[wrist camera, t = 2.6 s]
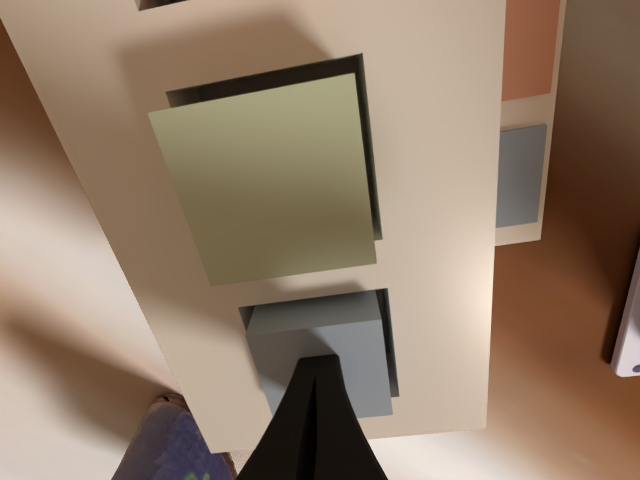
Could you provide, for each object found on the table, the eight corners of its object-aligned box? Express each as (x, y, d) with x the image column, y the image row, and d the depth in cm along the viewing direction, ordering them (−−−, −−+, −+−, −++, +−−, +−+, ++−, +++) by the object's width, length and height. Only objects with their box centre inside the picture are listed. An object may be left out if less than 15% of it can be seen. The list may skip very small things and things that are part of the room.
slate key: (371, 272, 13) (381, 319, 11) (382, 358, 15) (393, 414, 13) (260, 287, 14) (245, 336, 11) (284, 369, 16) (275, 426, 13)
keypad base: (458, -478, 7) (546, -853, 4) (459, 369, 17) (486, 428, 14) (-53, -307, 8) (-257, -511, 5) (229, 394, 18) (211, 453, 16)
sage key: (347, 73, 9) (354, 73, 7) (366, 221, 11) (376, 263, 9) (194, 103, 10) (147, 113, 7) (236, 240, 12) (210, 286, 9)
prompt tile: (566, -80, 10) (580, -89, 9) (535, 235, 14) (543, 242, 13) (473, -59, 10) (481, -66, 10) (469, 244, 14) (474, 251, 14)
